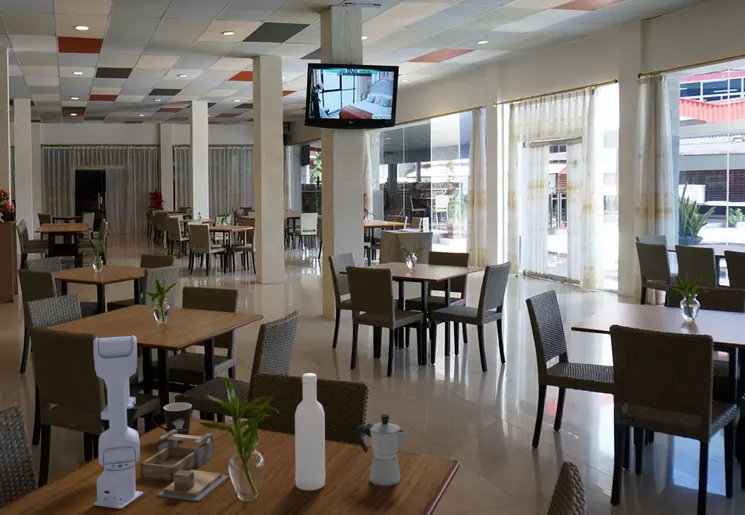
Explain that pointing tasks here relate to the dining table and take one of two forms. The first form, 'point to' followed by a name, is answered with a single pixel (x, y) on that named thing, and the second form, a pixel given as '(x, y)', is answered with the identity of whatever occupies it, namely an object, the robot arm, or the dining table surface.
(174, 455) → the toolbox
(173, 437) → the bar
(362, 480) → the dining table surface
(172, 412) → the coffee mug
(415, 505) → the dining table surface
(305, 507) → the dining table surface
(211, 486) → the lid mat
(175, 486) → the toolbox lid
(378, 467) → the coffee maker
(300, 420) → the bottle
